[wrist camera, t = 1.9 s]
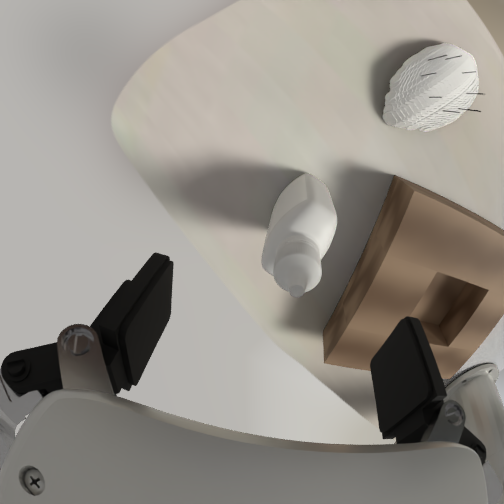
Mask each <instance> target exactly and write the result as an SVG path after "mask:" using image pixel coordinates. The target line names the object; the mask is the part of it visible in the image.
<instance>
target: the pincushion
mask: <svg viewBox="0 0 504 504" xmlns="http://www.w3.org/2000/svg"><path fill="white" fill-rule="evenodd" d="M402 66H403V67H401V68H400V69H398V70H397V72H396V73H395V75H394V76H393V77H392V78H391V80H390V81H389V82H390V85H389V87H390V92H388V93H387V94H386V96H385V100H386V101H385V103H384V104H385V107H384V110H383V112H384V114H383V117H382V118H383V120H384V121H385V122H386V124H388V125H391V126H394V127H401V128H406V129H407V130H414V129H419V130H420V131H422V130H423V131H424V132H428V131H432V130H434V129H438V128H441V127H443V126H446V125H448V124H450V123H452V122H454V121H455V120H456V119H458V118H459V117H460V116H461V115H462V114H463V113H465V112H466V111H467V110H470V109H468V108H469V107H470V106H471V105H472V103H473V101H474V100H475V97H476V95H477V94H481V93H478V88H479V85H478V83H479V81H478V78H479V77H478V76H477V75H478V72H477V66H476V61H475V59H474V58H473V56H472V55H471V54H469V53H468V52H466V51H464V50H463V49H461V48H460V47H457V46H455V45H453V44H448V43H442V44H440V45H434V46H429V47H426V48H424V49H423V50H421V51H420V52H419V53H417V54H415V55H413V56H411V57H410V58H409V59H407V60H406V61H405V62H404V63H403V65H402ZM471 111H478V110H471ZM479 112H481V111H479ZM459 115H460V116H459Z"/></svg>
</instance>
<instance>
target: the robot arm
mask: <svg viewBox="0 0 504 504" xmlns="http://www.w3.org/2000/svg"><path fill="white" fill-rule="evenodd" d="M172 279H173V262H172V261H170V259H169V257H168V256H166V255H162V254H159V253H154V254H153V255H152V256H151V257H150V258H149V260H148V261H147V262H146V263H145V264H144V266H143V267H142V268H141V270H140V271H139V272H138V273H137V275H136V276H135V277H134V278H133V280H132V281H130V280H126V281H125V282H124V283H123V284H122V285H121V286H120V288H119V289H118V290H117V291H116V293H115V294H114V295H113V296H112V298H111V299H110V300H109V302H108V303H107V304H106V306H105V307H104V308H103V310H102V311H101V312H100V314H99V315H98V317H97V318H96V319H95V320H94V322H93V323H92V324H91V326H90V327H89V326H87V325H84V324H74V325H71V326H68V327H67V328H65V329H64V330H63V331H62V332H61V333H60V334H59V337H58V340H57V342H56V343H52V344H47V345H43V346H39V347H34V348H30V349H25V350H21V351H16V352H13V353H11V354H9V355H8V356H7V357H6V358H5V359H4V361H3V363H2V366H1V369H0V504H504V406H503V403H502V400H501V397H500V395H499V392H498V390H497V387H496V385H495V382H496V380H497V379H498V376H499V370H498V368H497V366H496V365H495V364H484V365H481V366H478V367H476V368H474V369H472V370H470V371H468V372H466V373H464V374H463V375H461V376H460V377H458V378H457V379H456V380H454V381H453V382H452V383H451V384H450V385H448V386H447V387H446V388H445V386H444V383H443V380H442V377H441V374H440V371H439V368H438V366H437V363H436V360H435V357H434V355H433V352H432V349H431V347H430V344H429V342H428V339H427V337H426V334H425V332H424V329H423V327H422V324H421V322H420V320H419V319H418V318H414V317H409V316H406V317H405V318H404V319H401V320H400V321H399V323H398V324H397V326H396V327H395V329H394V330H393V331H392V333H391V334H390V336H389V337H388V338H387V340H386V341H385V342H384V344H383V345H382V346H381V348H380V349H379V350H378V352H377V353H376V354H375V355H374V357H373V358H372V360H371V362H370V369H371V375H372V381H373V387H374V393H375V399H376V406H377V414H378V421H379V429H380V432H382V436H383V439H393V438H395V437H396V442H395V443H394V444H386V445H345V444H324V443H312V442H301V441H293V440H285V439H278V438H271V437H264V436H259V435H253V434H248V433H242V432H238V431H233V430H229V429H224V428H220V427H216V426H212V425H208V424H204V423H200V422H197V421H193V420H190V419H186V418H182V417H179V416H176V415H172V414H169V413H166V412H163V411H160V410H157V409H154V408H151V407H148V406H145V405H142V404H139V403H135V402H133V401H130V400H127V399H124V398H121V397H117V395H116V394H117V393H119V392H120V390H121V388H123V389H125V390H127V391H129V390H130V388H131V386H132V385H135V386H136V385H137V384H138V382H139V380H140V378H141V376H142V373H143V371H144V369H145V367H146V365H147V363H148V361H149V359H150V357H151V355H152V353H153V351H154V349H155V347H156V345H157V343H158V341H159V339H160V337H161V335H162V333H163V331H164V329H165V327H166V325H167V323H168V321H169V319H170V315H171V298H172ZM29 413H30V414H29ZM28 414H29V415H28ZM26 415H28V417H27V418H26V417H25V416H26ZM24 419H26V420H25V422H24V423H23V425H22V426H21V428H20V430H19V432H18V433H17V435H16V437H15V429H16V426H17V425H18V424H19V423H20V422H21V421H23V420H24Z"/></svg>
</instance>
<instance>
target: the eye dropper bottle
mask: <svg viewBox="0 0 504 504" xmlns="http://www.w3.org/2000/svg"><path fill="white" fill-rule="evenodd" d="M336 226H337V215H336V211H335V208H334V205H333V202H332V199H331V196H330V193H329V191H328V188H327V186H326V185H325V183H323V182H322V181H321V180H319V179H318V178H316V177H315V176H313V175H312V174H309V173H306V174H303V175H301V176H299V177H298V178H296V179H295V180H293V181H292V182H291V183H290V184H289V185H288V186H287V187H286V188H285V189H284V190H283V192H282V193H281V194H280V196H279V198H278V199H277V201H276V203H275V206H274V208H273V211H272V215H271V219H270V223H269V227H268V231H267V235H266V239H265V243H264V248H263V253H262V267H263V268H264V269H265V271H267V272H268V273H269V274H271V275H272V276H274V279H275V281H276V283H277V284H278V285H279V286H280V287H281V288H282V289H284V290H286V291H288V292H289V293H290V295H291V296H293V297H301V296H302V295H303V294H304V292H308V291H310V290H312V289H313V288H314V287H315V286H316V285H317V284H318V282H320V278H321V276H322V268H321V259H322V258H323V256H324V255H325V253H326V252H327V250H328V248H329V246H330V244H331V242H332V240H333V237H334V234H335V230H336Z"/></svg>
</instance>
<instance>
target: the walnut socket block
mask: <svg viewBox="0 0 504 504" xmlns="http://www.w3.org/2000/svg"><path fill="white" fill-rule="evenodd" d="M503 314H504V230H502V229H501V228H499V227H497V226H496V225H494V224H492V223H491V222H489V221H487V220H486V219H484V218H482V217H480V216H479V215H477V214H475V213H473V212H471V211H470V210H468V209H466V208H464V207H462V206H460V205H458V204H456V203H454V202H452V201H450V200H448V199H446V198H444V197H442V196H440V195H438V194H436V193H434V192H432V191H430V190H428V189H426V188H423V187H421V186H419V185H417V184H414V183H412V182H410V181H408V180H405V179H403V178H401V177H398V176H396V175H394V177H393V180H392V183H391V185H390V188H389V191H388V193H387V196H386V199H385V201H384V204H383V206H382V209H381V211H380V214H379V216H378V219H377V221H376V224H375V226H374V228H373V231H372V233H371V235H370V238H369V240H368V242H367V244H366V247H365V249H364V251H363V253H362V256H361V258H360V260H359V262H358V264H357V266H356V268H355V271H354V273H353V275H352V277H351V279H350V281H349V283H348V285H347V287H346V289H345V291H344V293H343V295H342V297H341V299H340V301H339V303H338V305H337V307H336V308H335V310H334V312H333V314H332V316H331V318H330V320H329V322H328V323H327V325H326V327H325V329H324V331H323V345H324V363H326V364H331V365H337V366H343V367H349V368H355V369H361V370H368V371H371V369H370V362H371V360H372V358H373V357H374V355H375V354H376V353H377V352H378V350H379V349H380V348H381V346H382V345H383V344H384V342H385V341H386V340H387V338H388V337H389V336H390V334H391V333H392V331H393V330H394V329H395V327H396V326H397V324H398V323H399V321H400V320H401V319H404V318H405V317H406V316H409V317H414V318H418V319H419V320H420V322H421V324H422V327H423V329H424V332H425V334H426V337H427V339H428V342H429V344H430V347H431V349H432V352H433V355H434V357H435V360H436V363H437V366H438V368H439V371H440V374H441V377H442V378H444V379H450V378H451V377H452V376H453V375H454V374H455V373H456V372H457V371H458V370H459V369H460V368H461V367H462V366H463V365H464V364H465V362H466V361H467V360H468V359H469V358H470V357H471V356H472V354H473V353H474V352H475V351H476V350H477V348H478V347H479V346H480V345H481V344H482V342H483V341H484V340H485V339H486V337H487V336H488V335H489V333H490V332H491V331H492V329H493V328H494V327H495V325H496V324H497V323H498V321H499V320H500V319H501V317H502V316H503Z"/></svg>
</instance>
